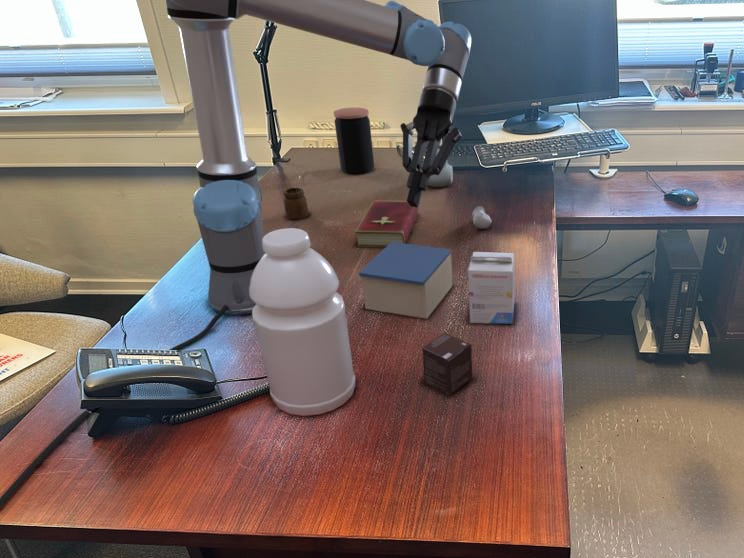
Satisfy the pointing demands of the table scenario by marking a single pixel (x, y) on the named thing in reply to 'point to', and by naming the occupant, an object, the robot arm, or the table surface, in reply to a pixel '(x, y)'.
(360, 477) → the table surface
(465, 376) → the box
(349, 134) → the coffee jar
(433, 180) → the air freshener
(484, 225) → the white bust figurine
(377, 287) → the storage box
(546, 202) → the table surface
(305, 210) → the utensil holder
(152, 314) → the table surface
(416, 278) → the storage box lid
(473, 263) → the ink box
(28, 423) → the table surface
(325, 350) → the bottle
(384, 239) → the hardcover book
